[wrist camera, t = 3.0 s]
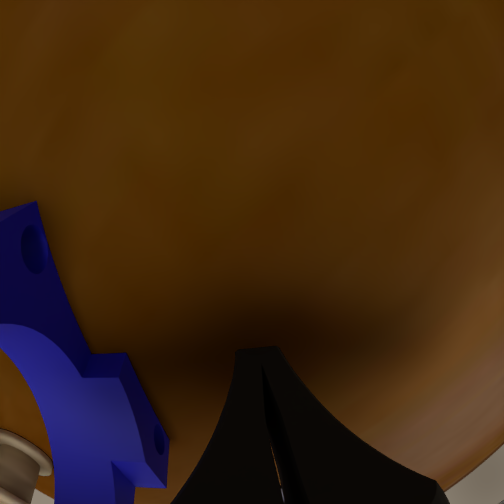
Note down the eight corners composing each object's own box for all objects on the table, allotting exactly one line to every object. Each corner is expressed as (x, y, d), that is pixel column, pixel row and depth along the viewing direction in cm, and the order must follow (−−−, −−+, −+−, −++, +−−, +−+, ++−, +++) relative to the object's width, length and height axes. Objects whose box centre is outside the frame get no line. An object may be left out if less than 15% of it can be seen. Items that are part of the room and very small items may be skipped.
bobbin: (64, 473, 14) (52, 529, 10) (17, 460, 14) (1, 509, 10) (30, 436, 13) (9, 500, 8) (-17, 423, 12) (-40, 476, 8)
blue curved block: (169, 437, 13) (164, 545, 8) (91, 435, 13) (70, 529, 7) (76, 189, 8) (-63, 286, 3) (-19, 216, 8) (-132, 298, 2)
